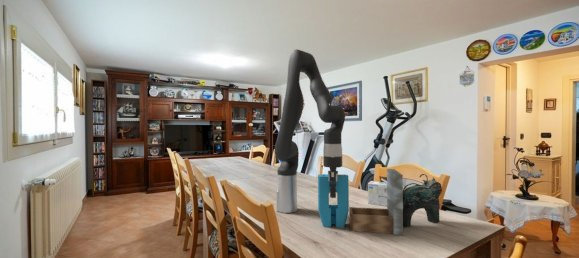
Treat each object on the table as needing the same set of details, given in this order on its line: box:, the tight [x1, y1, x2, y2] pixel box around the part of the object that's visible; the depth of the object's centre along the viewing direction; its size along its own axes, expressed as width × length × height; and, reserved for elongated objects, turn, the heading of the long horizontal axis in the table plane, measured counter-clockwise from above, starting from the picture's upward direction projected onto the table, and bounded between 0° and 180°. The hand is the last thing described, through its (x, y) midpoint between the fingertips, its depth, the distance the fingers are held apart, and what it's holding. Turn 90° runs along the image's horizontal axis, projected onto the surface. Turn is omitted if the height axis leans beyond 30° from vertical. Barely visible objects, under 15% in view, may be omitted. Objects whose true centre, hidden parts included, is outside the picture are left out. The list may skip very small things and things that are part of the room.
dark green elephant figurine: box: [403, 173, 443, 228], centre depth 108 cm, size 20×6×20 cm, turn 108°
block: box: [317, 173, 350, 228], centre depth 108 cm, size 12×5×20 cm, turn 83°
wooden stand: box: [348, 168, 404, 237], centre depth 105 cm, size 18×14×22 cm
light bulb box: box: [367, 180, 387, 207], centre depth 137 cm, size 11×7×11 cm, turn 58°
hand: (333, 194), depth 108 cm, fingers open, 8 cm apart
